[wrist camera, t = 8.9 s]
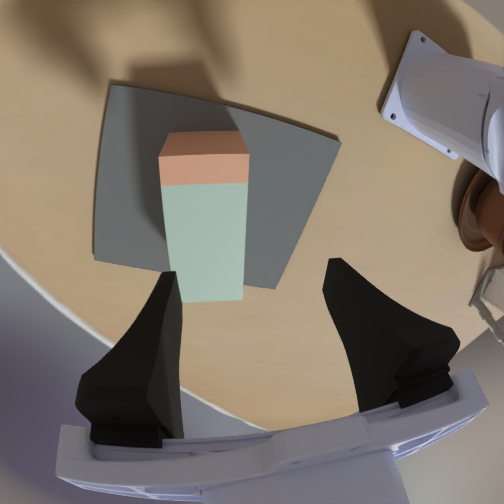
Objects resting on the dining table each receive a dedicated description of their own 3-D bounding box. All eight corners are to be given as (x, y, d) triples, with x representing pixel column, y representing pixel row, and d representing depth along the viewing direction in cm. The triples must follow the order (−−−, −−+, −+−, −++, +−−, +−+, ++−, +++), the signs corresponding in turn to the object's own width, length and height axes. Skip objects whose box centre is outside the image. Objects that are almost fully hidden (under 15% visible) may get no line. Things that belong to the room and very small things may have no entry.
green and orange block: (235, 255, 24) (242, 299, 20) (179, 257, 24) (176, 302, 20) (239, 130, 18) (249, 153, 15) (169, 132, 18) (158, 156, 14)
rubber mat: (339, 141, 20) (341, 142, 20) (274, 286, 28) (275, 289, 27) (113, 84, 16) (111, 84, 15) (95, 257, 23) (94, 260, 23)
